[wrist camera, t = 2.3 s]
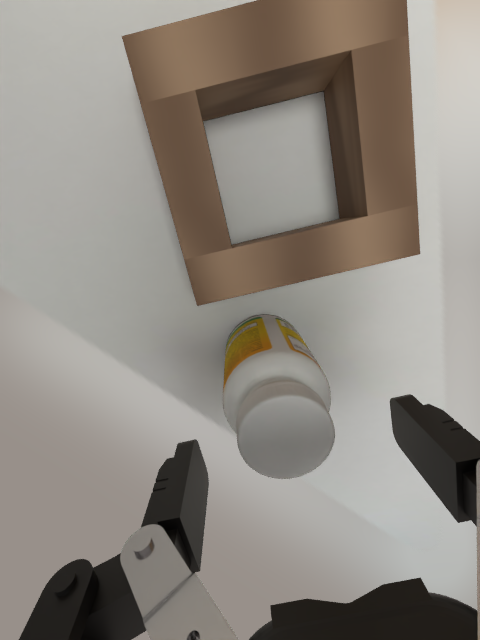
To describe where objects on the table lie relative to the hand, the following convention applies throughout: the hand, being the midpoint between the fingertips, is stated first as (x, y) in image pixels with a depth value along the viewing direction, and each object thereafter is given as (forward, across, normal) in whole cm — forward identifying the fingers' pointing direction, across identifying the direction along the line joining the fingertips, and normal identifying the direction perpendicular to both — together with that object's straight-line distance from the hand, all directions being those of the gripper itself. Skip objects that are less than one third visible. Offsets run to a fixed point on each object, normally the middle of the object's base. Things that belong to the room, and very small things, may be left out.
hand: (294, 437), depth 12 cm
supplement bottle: (+10, 0, 0) cm, 10 cm away
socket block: (+9, -3, -11) cm, 15 cm away
